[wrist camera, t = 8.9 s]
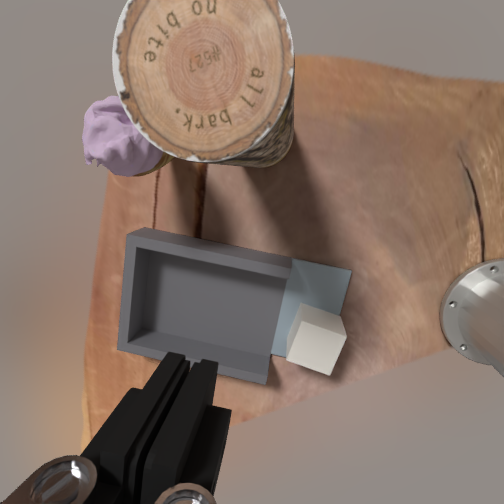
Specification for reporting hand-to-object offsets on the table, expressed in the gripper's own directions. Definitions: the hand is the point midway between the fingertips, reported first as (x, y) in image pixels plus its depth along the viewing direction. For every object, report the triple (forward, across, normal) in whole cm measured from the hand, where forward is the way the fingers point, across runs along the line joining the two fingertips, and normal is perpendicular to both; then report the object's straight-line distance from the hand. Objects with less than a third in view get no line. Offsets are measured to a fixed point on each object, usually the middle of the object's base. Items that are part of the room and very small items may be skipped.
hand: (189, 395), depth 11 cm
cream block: (+28, -8, +10) cm, 31 cm away
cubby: (+29, +2, +9) cm, 31 cm away
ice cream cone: (+29, +12, -8) cm, 33 cm away
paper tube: (+29, +2, -11) cm, 31 cm away
